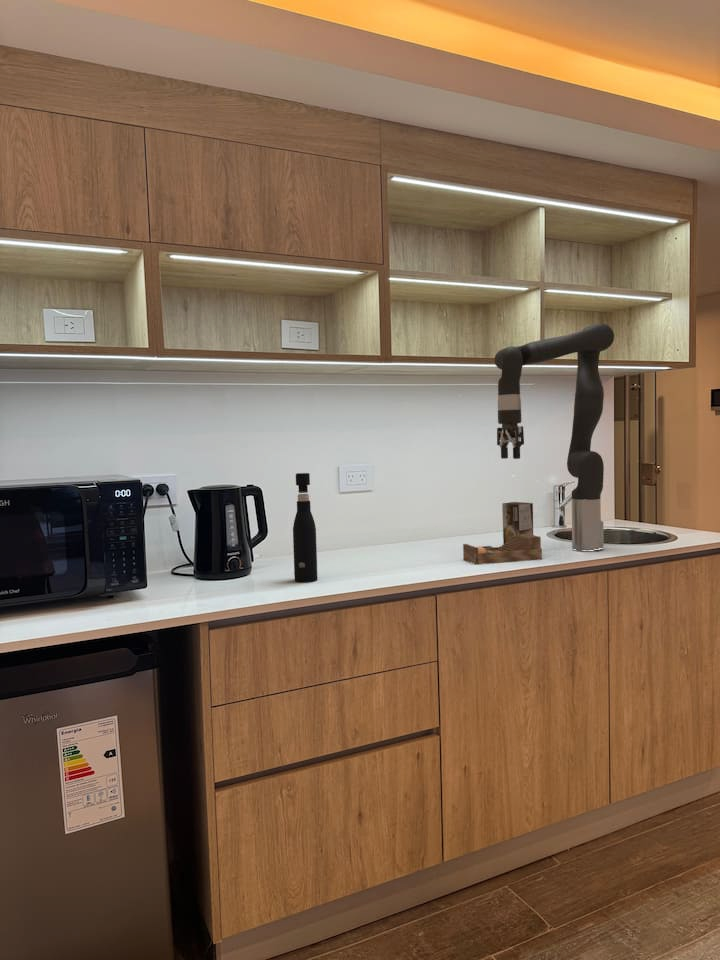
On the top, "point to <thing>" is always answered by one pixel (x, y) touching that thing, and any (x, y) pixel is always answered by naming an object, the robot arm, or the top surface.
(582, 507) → the robot arm
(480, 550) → the ball
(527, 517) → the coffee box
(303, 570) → the black bottle
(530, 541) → the lane
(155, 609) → the top surface
